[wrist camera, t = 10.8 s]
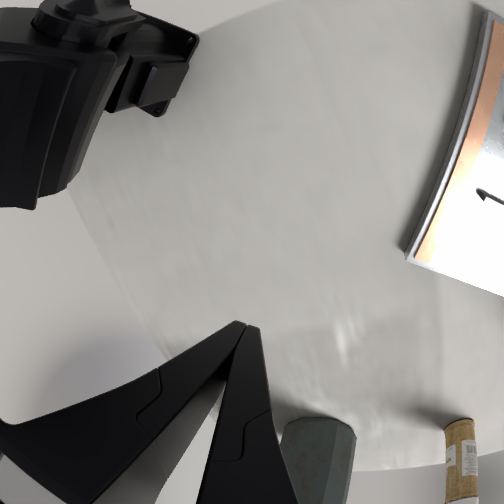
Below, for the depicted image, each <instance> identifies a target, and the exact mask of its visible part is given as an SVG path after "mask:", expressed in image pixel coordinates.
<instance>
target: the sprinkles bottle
mask: <svg viewBox="0 0 504 504" xmlns="http://www.w3.org/2000/svg"><path fill="white" fill-rule="evenodd" d="M474 426H475V423H474V421H472V420H468V419H464V420H460V421H456V422H454V423H452V424H450V425H449V426H448V427H446V429H445V432H444V433H445V438H446V500H445V504H478V502H479V498H478V494H477V477H478V467H477V449H476V442H475V433H474Z"/></svg>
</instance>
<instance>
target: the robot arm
mask: <svg viewBox="0 0 504 504" xmlns="http://www.w3.org/2000/svg"><path fill="white" fill-rule="evenodd" d="M191 37H192V38H193V42H192V43H191V44H190V43H189V39H190V38H191ZM199 41H200V40H199V36H198V35H197V34H195V33H192V32H190V31H188V30H185V29H183V28H181V27H178V26H176V25H173V24H171V23H168V22H166V21H163V20H160V19H158V18H155V17H152V16H150V15H147V14H144V13H141V12H138V11H135V10H133V9H131V5H130V1H129V0H44V1H43V2H42V3H41V4H40V6H39V8H17V7H6V8H0V207H17V208H22V209H28V210H34V209H35V208H36V204H37V199H38V198H40V197H44V196H48V195H52V194H56V193H58V192H60V191H62V190H64V189H65V188H66V187H67V184H68V183H69V182H70V181H71V180H72V179H73V178H74V177H75V176H76V174H77V173H78V172H79V170H80V168H81V165H82V162H83V159H84V157H85V154H86V151H87V149H88V146H89V143H90V141H91V138H92V136H93V133H94V131H95V129H96V126H97V124H98V121H99V119H100V117H101V115H102V112H103V111H105V110H106V111H107V112H109V113H115V112H118V111H121V110H124V109H128V108H131V107H135V106H136V107H138V108H140V109H142V110H143V111H145V112H147V113H149V114H150V115H152V116H154V117H160V116H163V115H164V114H165V112H166V110H167V108H168V105H169V103H170V101H171V99H172V98H175V96H176V94H177V92H178V90H179V88H180V85H181V83H182V81H183V79H184V77H185V75H186V73H187V71H188V69H189V61H190V59H191V57H192V55H193V53H194V51H195V49H196V47H197V45H198V44H199ZM157 107H158V108H159V109H160V112H159V113H158V112H157ZM225 385H226V387H225V391H224V395H223V399H222V403H221V407H220V411H219V415H218V419H217V423H216V426H215V430H214V434H213V438H212V442H211V446H210V451H209V454H208V458H207V463H206V466H205V470H204V474H203V478H202V482H201V486H200V489H199V494H198V497H197V501H196V504H299V502H298V499H297V496H296V493H295V490H294V487H293V484H292V481H291V478H290V475H289V472H288V469H287V466H286V463H285V460H284V457H283V454H282V451H281V447H280V444H279V440H278V437H277V432H276V427H275V422H274V416H273V411H272V405H271V398H270V392H269V385H268V379H267V372H266V366H265V359H264V353H263V346H262V340H261V333H260V329H259V328H258V327H255V326H252V325H246V324H245V323H243V322H240V321H236V320H235V321H233V322H231V323H230V324H228V325H227V326H225V327H223V328H222V329H220V330H219V331H217V332H215V333H214V334H212V335H211V336H209V337H207V338H206V339H204V340H202V341H201V342H199V343H198V344H196V345H194V346H193V347H191V348H189V349H188V350H186V351H184V352H183V353H181V354H179V355H178V356H176V357H174V358H173V359H171V360H169V361H168V362H166V363H164V364H163V365H161V366H160V367H158V369H157V368H155V369H153V370H152V371H150V372H148V373H147V374H145V375H143V376H141V377H139V378H137V379H135V380H133V381H131V382H129V383H127V384H124V385H122V386H120V387H118V388H116V389H113V390H111V391H108V392H106V393H103V394H100V395H98V396H95V397H93V398H90V399H87V400H85V401H82V402H80V403H77V404H74V405H72V406H69V407H66V408H63V409H61V410H58V411H55V412H52V413H49V414H47V415H44V416H41V417H38V418H35V419H32V420H29V421H26V422H23V423H20V424H16V425H12V424H8V423H6V422H4V421H3V420H2V419H1V418H0V504H154V503H155V501H156V499H157V497H158V495H159V493H160V491H161V489H162V488H163V486H164V484H165V482H166V481H167V478H169V476H170V475H171V473H172V471H173V470H174V468H175V467H176V465H177V464H178V462H179V461H180V459H181V457H182V456H183V454H184V453H185V451H186V449H187V448H188V446H189V445H190V443H191V441H192V440H193V438H194V436H195V435H196V433H197V431H198V430H199V428H200V427H201V425H202V423H203V422H204V420H205V418H206V417H207V415H208V413H209V412H210V410H211V408H212V407H213V405H214V403H215V402H216V400H217V398H218V397H219V395H220V393H221V392H222V390H223V388H224V386H225Z"/></svg>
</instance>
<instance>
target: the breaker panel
mask: <svg viewBox="0 0 504 504" xmlns="http://www.w3.org/2000/svg"><path fill="white" fill-rule="evenodd" d="M404 255H405V259H406V261H407V262H410V263H413V264H416V265H419V266H422V267H425V268H428V269H430V270H433V271H436V272H439V273H442V274H445V275H448V276H450V277H453V278H456V279H459V280H461V281H464V282H467V283H470V284H472V285H475V286H478V287H481V288H483V289H486V290H489V291H491V292H494V293H497V294H499V295H502V296H504V19H502V18H501V17H499V16H497V15H496V14H494V13H492V12H491V11H486V12H483V14H482V20H481V27H480V32H479V38H478V43H477V48H476V53H475V57H474V62H473V66H472V71H471V75H470V79H469V83H468V86H467V90H466V94H465V98H464V101H463V105H462V108H461V111H460V115H459V118H458V121H457V124H456V127H455V131H454V134H453V137H452V140H451V143H450V145H449V148H448V151H447V154H446V157H445V159H444V162H443V165H442V168H441V170H440V173H439V175H438V178H437V180H436V183H435V186H434V188H433V190H432V193H431V195H430V198H429V200H428V202H427V205H426V207H425V209H424V212H423V214H422V216H421V219H420V221H419V223H418V225H417V227H416V230H415V232H414V234H413V236H412V238H411V240H410V242H409V244H408V247H407V249H406V251H405V253H404Z"/></svg>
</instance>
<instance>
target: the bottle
mask: <svg viewBox="0 0 504 504" xmlns="http://www.w3.org/2000/svg"><path fill="white" fill-rule="evenodd" d="M356 439H357V437H356V435H355V434H354V432H353V430H352V428H351V427H349V426H347V425H345V424H343V423H341V422H339V421H337V420H334V419H329V418H301V419H299V420H296V421H293V422H290V423H289V424H288V425H287V426H285V428H284V432H283V436H282V439H281V443H280V447H281V451H282V454H283V457H284V460H285V463H286V466H287V469H288V472H289V475H290V478H291V481H292V484H293V487H294V490H295V493H296V496H297V499H298V502H299V504H346V499H347V495H348V490H349V484H350V479H351V473H352V467H353V460H354V454H355V446H356Z"/></svg>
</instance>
